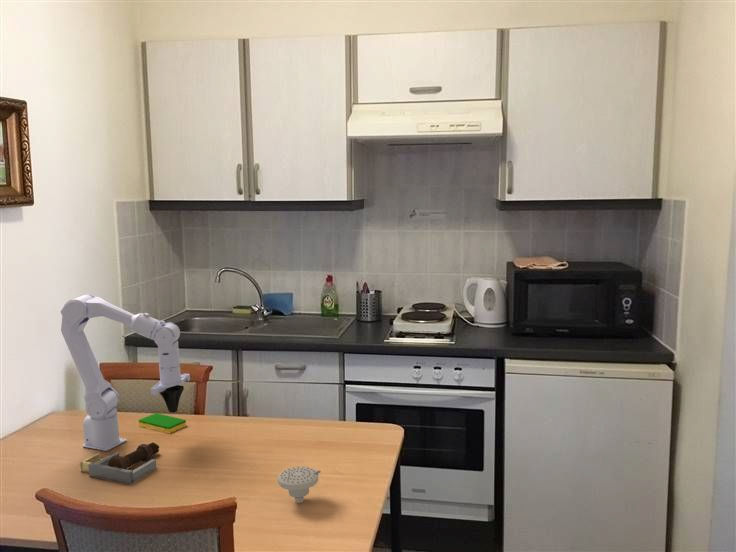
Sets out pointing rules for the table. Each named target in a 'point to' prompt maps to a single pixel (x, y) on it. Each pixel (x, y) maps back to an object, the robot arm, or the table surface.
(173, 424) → the dish sponge
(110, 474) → the grey u-shaped bracket
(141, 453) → the bolt
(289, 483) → the showerhead
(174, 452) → the table surface
